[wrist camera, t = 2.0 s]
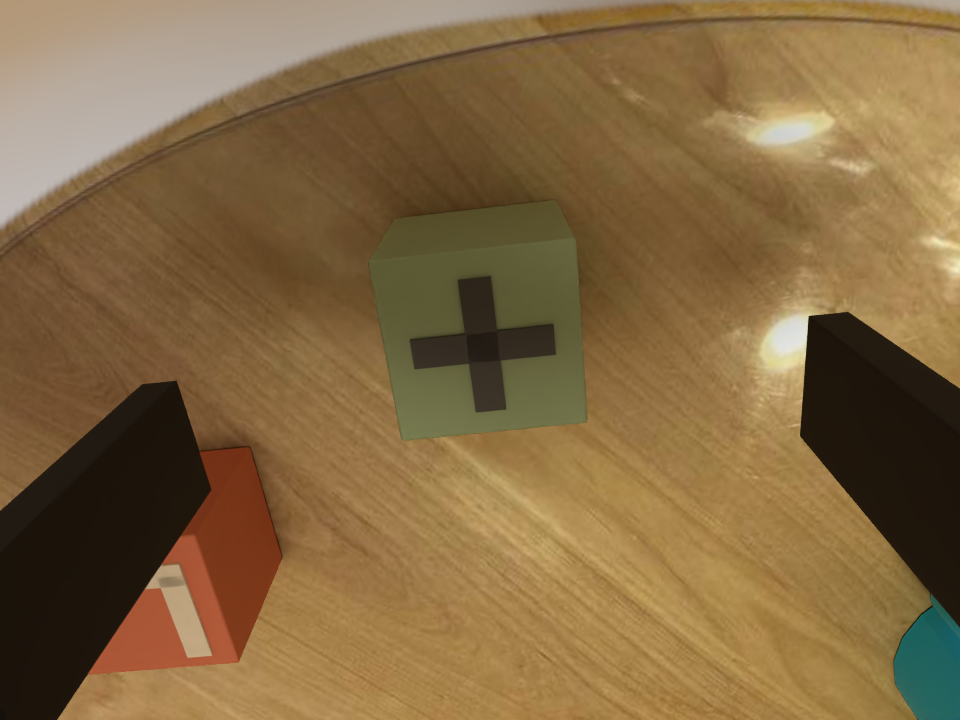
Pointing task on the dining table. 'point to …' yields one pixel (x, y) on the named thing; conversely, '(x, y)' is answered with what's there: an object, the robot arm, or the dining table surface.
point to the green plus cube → (481, 320)
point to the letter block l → (204, 579)
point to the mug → (930, 666)
